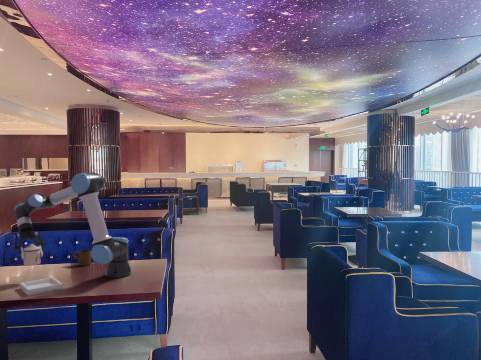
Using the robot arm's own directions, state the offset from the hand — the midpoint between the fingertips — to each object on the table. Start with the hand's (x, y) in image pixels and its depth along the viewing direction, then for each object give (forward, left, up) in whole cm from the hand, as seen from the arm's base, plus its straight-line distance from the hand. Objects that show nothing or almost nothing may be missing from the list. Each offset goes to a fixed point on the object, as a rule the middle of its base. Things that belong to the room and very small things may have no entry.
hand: (32, 256), depth 229 cm
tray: (-17, 0, -15) cm, 22 cm away
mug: (+23, -36, -15) cm, 45 cm away
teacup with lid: (+3, -1, -5) cm, 6 cm away
